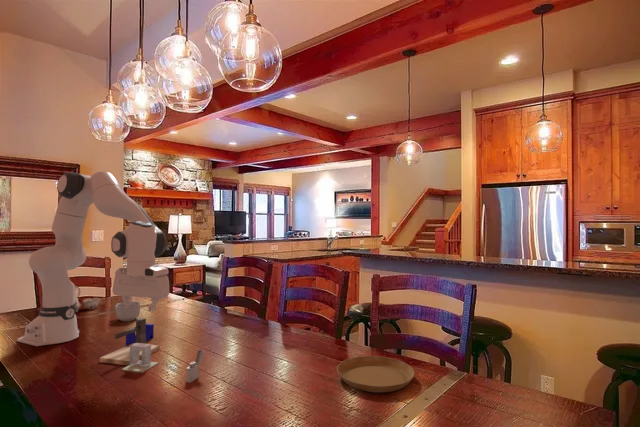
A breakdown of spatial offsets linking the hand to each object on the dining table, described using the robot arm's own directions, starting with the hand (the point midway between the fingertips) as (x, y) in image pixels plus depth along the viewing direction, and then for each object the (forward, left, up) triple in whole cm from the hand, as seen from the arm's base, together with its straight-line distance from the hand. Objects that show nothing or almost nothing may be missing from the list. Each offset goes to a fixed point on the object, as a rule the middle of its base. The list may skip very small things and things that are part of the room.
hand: (140, 309), depth 126 cm
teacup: (-50, +49, -20) cm, 73 cm away
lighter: (+23, -3, -20) cm, 30 cm away
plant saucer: (+78, +11, -20) cm, 81 cm away
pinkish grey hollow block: (0, 0, -19) cm, 19 cm away
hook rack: (-11, +8, -19) cm, 24 cm away
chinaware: (-88, +54, -20) cm, 105 cm away
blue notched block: (-19, +22, -20) cm, 35 cm away
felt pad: (0, 0, -19) cm, 19 cm away
